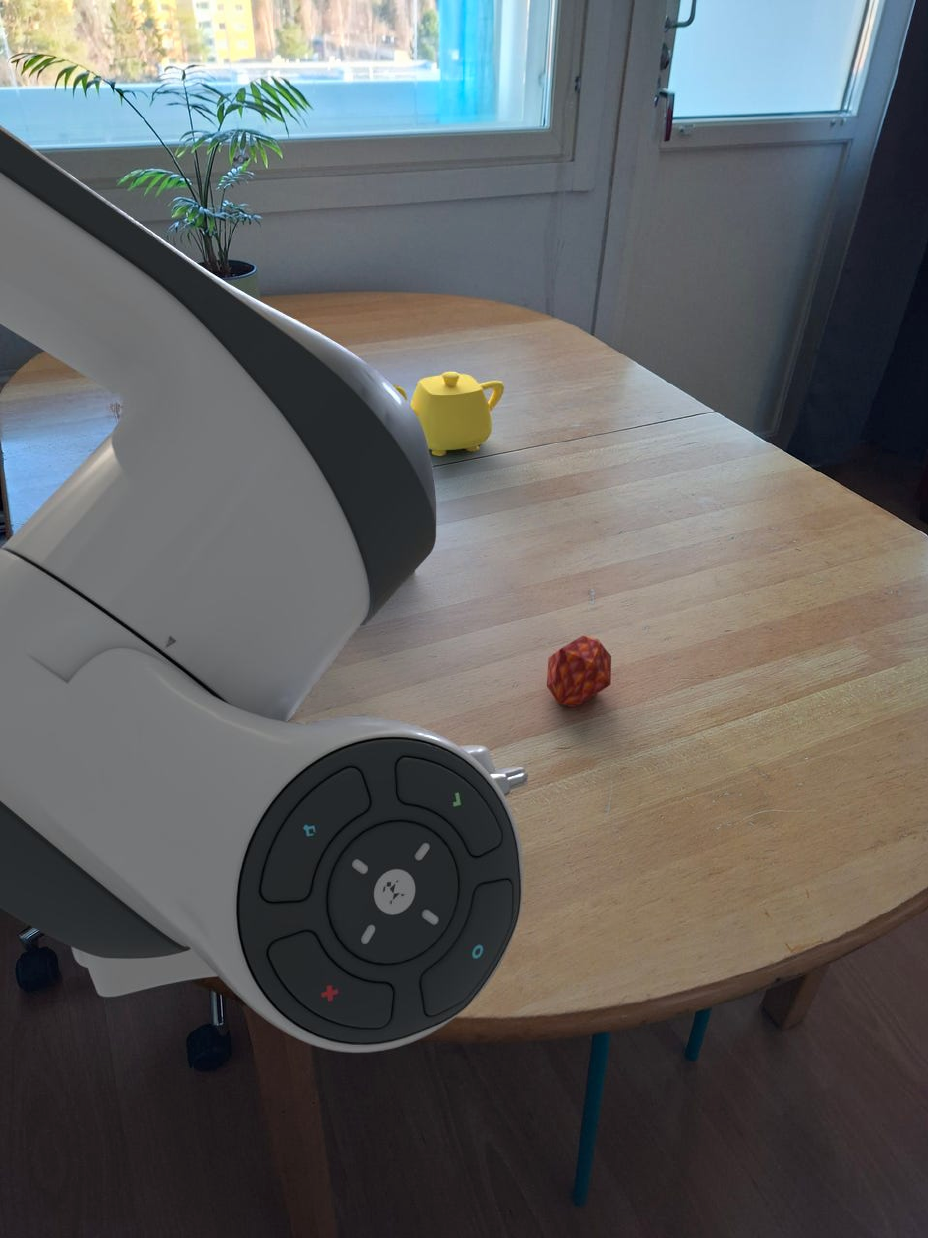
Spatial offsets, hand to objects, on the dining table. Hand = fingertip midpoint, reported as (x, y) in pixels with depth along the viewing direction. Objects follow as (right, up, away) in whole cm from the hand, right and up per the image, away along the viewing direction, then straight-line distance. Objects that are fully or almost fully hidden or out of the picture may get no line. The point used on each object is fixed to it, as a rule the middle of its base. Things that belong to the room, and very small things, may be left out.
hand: (277, 828), depth 48 cm
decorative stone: (+21, +4, +39) cm, 44 cm away
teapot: (+7, +38, +83) cm, 92 cm away
